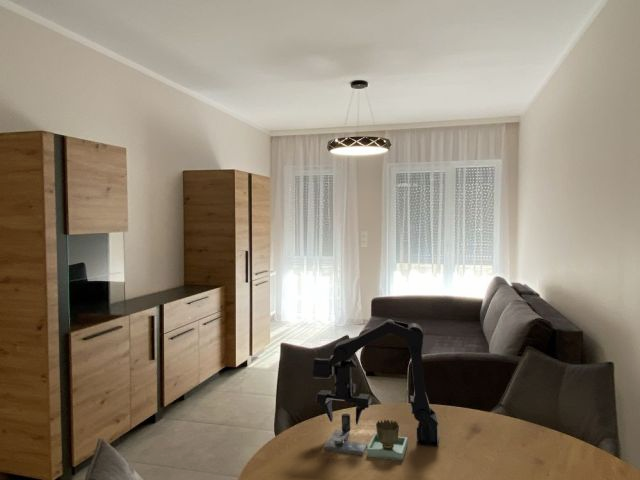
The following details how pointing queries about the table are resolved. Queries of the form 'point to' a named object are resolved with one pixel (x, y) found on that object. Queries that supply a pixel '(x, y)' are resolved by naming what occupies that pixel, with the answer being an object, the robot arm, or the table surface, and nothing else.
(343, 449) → the grey l-bracket
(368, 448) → the tray
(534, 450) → the table surface
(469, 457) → the table surface
